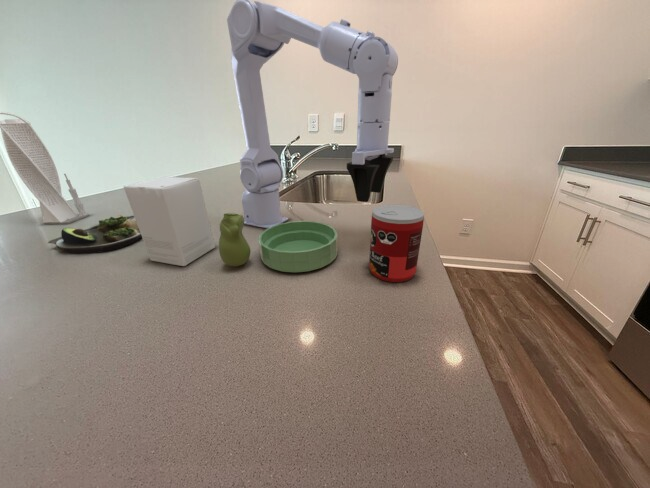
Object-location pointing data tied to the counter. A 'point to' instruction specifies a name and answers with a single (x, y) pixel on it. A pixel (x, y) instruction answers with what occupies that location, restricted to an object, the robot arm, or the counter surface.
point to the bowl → (298, 246)
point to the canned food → (395, 242)
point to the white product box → (171, 219)
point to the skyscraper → (39, 171)
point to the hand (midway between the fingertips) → (369, 196)
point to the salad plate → (99, 236)
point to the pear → (233, 240)
